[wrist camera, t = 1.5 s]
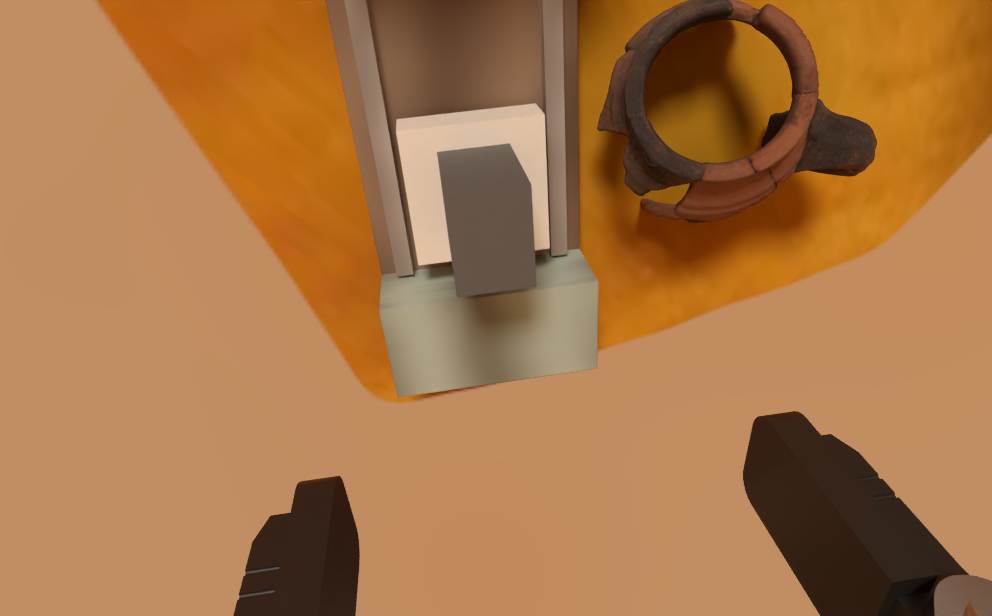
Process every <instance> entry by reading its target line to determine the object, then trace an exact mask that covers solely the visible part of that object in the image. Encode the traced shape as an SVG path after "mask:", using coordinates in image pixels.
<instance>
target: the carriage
mask: <svg viewBox="0 0 992 616" xmlns="http://www.w3.org/2000/svg"><path fill="white" fill-rule="evenodd" d="M396 135H397V141H398V147H399V153H400V159H401V165H402V171H403V177H404V183H405V189H406V195H407V201H408V207H409V213H410V218H411V224H412V230H413V236H414V242H415V248H416V254H417V260H418V266H419V265H426V264H434V263H442V262H449V261H452V266H453V273H454V280H455V287H456V294H457V297H464V296H472V295H479V294H487V293H494V292H501V291H509V290H516V289H524V288H531V287H537V284H536V265H535V250H541V249H549V248H550V243H549V216H548V189H547V161H546V134H545V114H544V113H543V112H542V110H541V109H540V108H539V107H538V106H537V104H536V103H535V104H526V105H517V106H508V107H499V108H491V109H482V110H473V111H464V112H455V113H447V114H438V115H429V116H420V117H411V118H403V119H397V121H396Z"/></svg>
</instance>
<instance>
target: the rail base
mask: <svg viewBox="0 0 992 616" xmlns="http://www.w3.org/2000/svg"><path fill="white" fill-rule="evenodd" d="M325 2H326V6H327V11H328V16H329V21H330V26H331V31H332V36H333V40H334V45H335V50H336V55H337V60H338V65H339V69H340V74H341V79H342V84H343V89H344V94H345V99H346V103H347V108H348V113H349V118H350V123H351V128H352V133H353V137H354V142H355V147H356V152H357V157H358V162H359V167H360V171H361V176H362V181H363V186H364V191H365V196H366V201H367V205H368V210H369V215H370V220H371V225H372V230H373V234H374V239H375V244H376V249H377V254H378V259H379V264H380V268H381V273H382V279H381V292H380V305H379V314H380V318H381V323H382V327H383V332H384V337H385V341H386V346H387V350H388V355H389V360H390V364H391V369H392V373H393V378H394V383H395V387H396V392H397V397H405V396H412V395H419V394H426V393H432V392H439V391H446V390H453V389H460V388H467V387H474V386H481V385H488V384H495V383H501V382H508V381H515V380H522V379H528V378H536V377H542V376H549V375H556V374H563V373H570V372H577V371H583V370H591V369H597V347H598V280H597V279H596V277H595V275H594V273H593V272H592V270H591V268H590V266H589V265H588V263H587V261H586V259H585V258H584V256H583V254H582V253H581V251H580V249H579V130H578V0H325ZM535 103H536V104H537V106H538V107H539V108H540V109H541V110H542V112H543V113H544V114H545V134H546V161H547V189H548V216H549V243H550V248H549V249H541V250H535V265H536V284H537V287H531V288H524V289H516V290H509V291H501V292H494V293H487V294H479V295H472V296H464V297H457V294H456V287H455V280H454V273H453V266H452V261H449V262H442V263H434V264H426V265H419V266H418V260H417V254H416V248H415V242H414V236H413V230H412V224H411V218H410V213H409V207H408V201H407V195H406V189H405V183H404V177H403V171H402V165H401V159H400V153H399V147H398V141H397V135H396V121H397V119H403V118H411V117H420V116H429V115H438V114H447V113H455V112H464V111H473V110H482V109H491V108H499V107H508V106H517V105H526V104H535Z"/></svg>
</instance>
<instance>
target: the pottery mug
mask: <svg viewBox="0 0 992 616" xmlns="http://www.w3.org/2000/svg"><path fill="white" fill-rule="evenodd" d="M717 20H736V21H740V22H744V23H747V24H749V25H752V26H753V27H754V28H755V29H756V30H758V31H760V32H761V33H762V34H764V35H765V36H767V37H768V38H769V39H770V40H771V41H772V42H773V43H774V44H775V45H776V46H777V47H778V49H779V50H780V51H781V53H782V54H783V56H784V58H785V60H786V62H787V64H788V67H789V70H790V74H791V79H792V103H791V107H790V110H788V111H785V112H783V113H774V114H772V115H771V116H770V119H769V122H768V127H767V131H766V133H765V136H764V137H763V140H762V144H761V145H762V148H761V149H760V150H758V151H757V152H755V153H753V154H752V155H750V156H748V157H745V158H741V159H738V160H735V161H731V162H725V163H699V162H696V161H693V160H690V159H688V158H685V157H683V156H681V155H679V154H678V153H676V152H674V151H673V150H672V149H670V148H669V147H668V146H667V145H666V144H665V143H664V142H663V141H662V140H661V139H660V137H659V136H658V135H657V134H656V132H655V131H654V129H653V127H652V125H651V123H650V121H649V120H648V119H647V113H646V110H645V101H644V98H645V92H644V88H645V82H646V78H647V75H648V72H649V69H650V67H651V65H652V63H653V61H654V59H655V58H656V56H657V55H658V54H659V52H660V51H661V49H662V48H663V47H664V46H665V45H666V44H667V43H668V42H669V41H670V40H672V39H673V38H674V37H675V36H677V35H678V34H679V33H681V32H683V31H685V30H687V29H689V28H691V27H694V26H697V25H699V24H702V23H707V22H711V21H717ZM625 50H626V54H624V55H623V56H622V57H620V58H619V59H618V60H617V62H616V64H615V67H614V70H613V72H612V76H611V81H610V85H609V92H608V95H607V98H606V101H605V105H604V108H603V111H602V113H601V115H600V118H599V122H598V127H597V129H598V130H599V131H603V130H606V131H610V132H615V133H619V134H623V135H626V136H628V137H629V142H628V144H627V146H626V148H625V150H624V157H623V163H624V167H625V170H626V174H625V178H624V179H625V183H626V185H627V186H628V187H629V188H630V189H631V190H632V191H633V192H634V193H635V194H637V195H639V196H643V195H645V194H646V193H648V192H650V191H651V190H663V189H665V188H668V187H671V186H677V185H681V184H688V183H690V185H689V188H688V190H687V192H686V194H685V196H684V197H683V198H682V200H680V201H679V202H678V203H677V204H676V205H673V204H663V203H658V202H655V201H652V200H649V199H642V201H641V203H640V204H641V206H642V209H644V210H645V211H647V212H649V213H651V214H653V215H656V216H659V217H665V218H669V219H674V220H682V219H684V220H687V221H688V222H690V223H698V222H707V221H714V220H719V219H723V218H727V217H730V216H732V215H735V214H737V213H739V212H740V211H742V210H744V209H746V208H748V207H749V206H752V205H754V204H756V203H758V202H760V201H761V200H763V199H764V198H766V197H767V196H768V195H770V194H771V193H772V192H774V191H775V189H776V188H777V183H780V182H783V181H784V180H786V179H787V178H788V177H789V176H790V175H792V174H793V173H794V172H801V171H806V170H809V171H813V172H818V173H824V174H832V175H839V176H855V175H857V174H858V173H860V172H862V171H864V170H865V169H866V168H867V167H868V166H869V165H870V164H871V163H872V162H873V160H874V157H875V148H876V145H877V140H876V138H875V135H874V132H873V130H872V128H871V127H870V126H869V125H868V124H866V123H864V122H861V121H859V120H857V119H855V118H852V117H848V116H843V115H839V114H836V113H834V112H832V111H830V110H829V109H827V108H826V107H825V105H824V104H823V102H822V101H821V100H820V99H818V95H819V93H818V87H819V83H818V71H817V65H816V61H815V56H814V53H813V50H812V48H811V45H810V42H809V41H808V39H807V38H806V36H805V35H804V33H803V31H802V30H801V29H800V27H799V26H798V25H797V24H796V22H795V21H794V20H793V19H792V18H791V17H789V16H788V15H787V14H785V13H784V12H783V11H781V10H780V9H778V8H776V7H775V6H773V5H770V4H766V5H765V6H764V7H763V8H761V9H760V10H759V9H756V8H753V7H752V6H750V5H748V4H747V3H744V2H741V1H736V0H688V1H686V2H683V3H681V4H678V5H676V6H674V7H672V8H670V9H668V10H666V11H664V12H662V13H661V14H659V15H658V16H656V17H655V18H653V19H652V20H650V21H649V22H648V23H647V24H645V25H644V26H643V27H642V28H641V29H640V30H639V31H638V32H637V33H636V34H635V35H634V36H633V37H632V38H631V39H630V40H629V41H628V43H627V44H626V46H625Z"/></svg>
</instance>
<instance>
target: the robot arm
mask: <svg viewBox="0 0 992 616" xmlns="http://www.w3.org/2000/svg"><path fill="white" fill-rule="evenodd" d="M743 481H744V486H745V490H746V493H747V496H748V499H749V500H750V503H751V504H752V506H753V508H754V509H755V511H756V512H757V514H758V516H759V517H760V519H761V521H762V522H763V524H764V525H765V527H766V529H767V530H768V532H769V533H770V535H771V537H772V538H773V540H774V541H775V543H776V545H777V546H778V548H779V550H780V551H781V553H782V555H783V556H784V558H785V559H786V561H787V563H788V564H789V566H790V567H791V569H792V571H793V572H794V574H795V575H796V577H797V579H798V580H799V582H800V584H801V585H802V587H803V588H804V590H805V592H806V593H807V595H808V597H809V598H810V600H811V601H812V603H813V605H814V606H815V608H816V609H817V611H818V613H819V614H820V616H992V581H990V580H987V579H984V578H980V577H977V576H970V575H969V574H968V573H967V572H966V571H965V570H964V569H963V568H961V566H960V565H959V564H958V563H957V562H956V561H955V560H954V558H953V557H952V556H951V555H950V554H949V553H948V552H947V551H946V550H945V549H944V547H943V546H942V545H941V544H940V543H939V542H938V541H937V539H936V538H935V537H934V536H933V535H932V534H931V533H930V532H929V531H928V529H927V528H926V527H925V526H924V525H923V524H922V523H921V522H920V520H919V519H918V518H917V517H916V516H915V515H914V514H913V513H912V512H911V510H910V509H909V508H908V507H907V506H906V505H905V504H904V503H903V501H902V500H901V499H900V498H896V497H895V493H894V491H893V490H892V489H891V488H890V487H889V486H888V485H887V484H886V482H885V481H884V480H883V479H879V477H878V474H877V472H876V471H875V470H874V469H873V468H872V467H871V466H870V465H869V464H868V463H867V461H866V460H865V459H864V458H863V457H862V456H861V455H860V454H859V452H857V451H856V450H854V449H853V448H851V447H850V446H848V445H847V444H845V443H843V442H842V441H840V440H839V439H837V438H836V437H834V436H833V435H831V434H828V435H820V434H819V433H818V431H816V429H815V428H814V427H813V425H812V424H811V423H810V422H809V421H808V420H807V418H806V417H805V416H804V415H802V414H801V413H799V412H796V411H794V412H787V413H780V414H773V415H766V416H759V417H757V418H756V419H755V420H754V423H753V427H752V432H751V436H750V441H749V446H748V450H747V455H746V460H745V465H744V470H743ZM359 557H360V556H359V539H358V532H357V528H356V524H355V521H354V517H353V514H352V511H351V507H350V504H349V501H348V497H347V494H346V490H345V487H344V484H343V481H342V478H341V477H340V476H335V477H329V478H322V479H315V480H308V481H301V482H299V483H298V484H297V487H296V490H295V495H294V499H293V504H292V509H291V513H286V514H279V515H273V516H270V517H269V519H268V521H267V522H266V523H265V525H264V526H263V528H262V529H261V531H260V532H259V533H258V535H257V536H256V538H255V539H254V541H253V542H252V547H251V550H250V554H249V558H248V562H247V565H246V569H245V571H246V575H245V576H244V577H243V581H242V585H241V589H240V593H239V595H240V598H239V600H238V601H237V604H236V608H235V612H234V616H355V613H356V599H357V586H358V574H359Z"/></svg>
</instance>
